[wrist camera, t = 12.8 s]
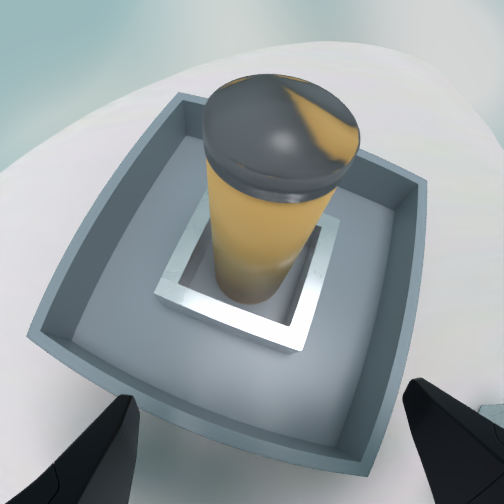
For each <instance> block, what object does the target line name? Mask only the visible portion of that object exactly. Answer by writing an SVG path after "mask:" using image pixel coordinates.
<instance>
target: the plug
mask: <svg viewBox="0 0 504 504" xmlns="http://www.w3.org/2000/svg"><path fill="white" fill-rule="evenodd" d="M202 128H203V145H204V151H205V156H206V166H207V180H208V194H209V208H210V220H211V232H212V243H213V254H214V265H215V275H216V280H217V283H218V285H219V287H220V289H221V290H222V292H223V293H224V294H225V295H226V296H227V297H229V298H230V299H232V300H233V301H236V302H238V303H241V304H250V305H252V304H258V303H262V302H264V301H266V300H268V299H269V298H271V297H272V296H273V295H274V294H275V293H276V292H277V290H278V289H279V287H280V286H281V284H282V282H283V280H284V279H285V277H286V275H287V274H288V272H289V270H290V269H291V267H292V265H293V264H294V262H295V260H296V259H297V257H298V255H299V253H300V252H301V250H302V248H303V247H304V245H305V243H306V241H307V240H308V238H309V236H310V234H311V233H312V231H313V229H314V227H315V226H316V224H317V222H318V220H319V219H320V217H321V215H322V213H323V211H324V210H325V208H326V206H327V204H328V203H329V201H330V199H331V197H332V195H333V194H334V192H335V190H336V188H337V186H338V185H339V184H340V183H341V181H342V180H343V179H344V177H345V175H346V173H347V172H348V170H349V168H350V166H351V164H352V162H353V161H354V159H355V157H356V155H357V153H358V151H359V146H360V131H359V128H358V125H357V122H356V120H355V118H354V116H353V115H352V113H351V112H350V110H349V109H348V108H347V107H346V106H345V105H344V104H343V103H342V102H341V101H340V100H339V99H338V98H337V97H335V96H334V95H333V94H331V93H330V92H328V91H327V90H325V89H323V88H322V87H320V86H318V85H316V84H313V83H311V82H309V81H306V80H303V79H299V78H296V77H291V76H286V75H278V74H258V75H251V76H246V77H242V78H238V79H236V80H233V81H231V82H229V83H226V84H225V85H223V86H222V87H220V88H219V89H217V90H216V91H215V92H214V93H213V94H212V95H211V96H210V97H209V99H208V100H207V102H206V104H205V106H204V109H203V113H202Z"/></svg>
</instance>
